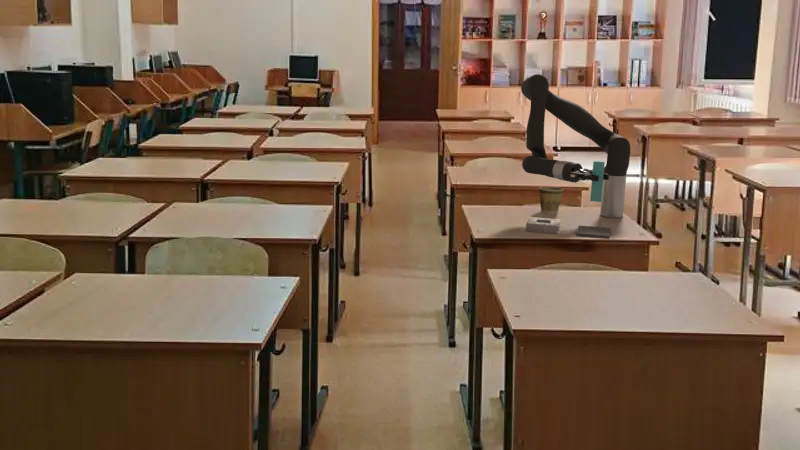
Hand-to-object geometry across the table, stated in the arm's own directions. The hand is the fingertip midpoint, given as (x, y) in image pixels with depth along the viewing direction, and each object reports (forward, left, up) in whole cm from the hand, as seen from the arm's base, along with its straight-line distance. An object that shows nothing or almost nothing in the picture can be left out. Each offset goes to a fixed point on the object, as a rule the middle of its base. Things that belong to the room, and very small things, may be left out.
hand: (603, 177), depth 347 cm
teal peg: (-1, -2, -9) cm, 9 cm away
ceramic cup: (-36, -21, -22) cm, 47 cm away
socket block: (-1, -21, -22) cm, 30 cm away
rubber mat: (-1, -2, -22) cm, 22 cm away
